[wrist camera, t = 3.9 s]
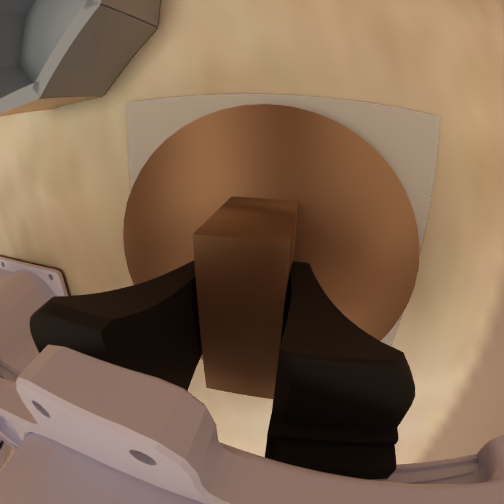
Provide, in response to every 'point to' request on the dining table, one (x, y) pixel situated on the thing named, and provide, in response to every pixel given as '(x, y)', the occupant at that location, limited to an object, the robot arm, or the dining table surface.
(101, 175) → the dining table surface
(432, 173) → the mat
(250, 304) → the lid
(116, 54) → the bowl
